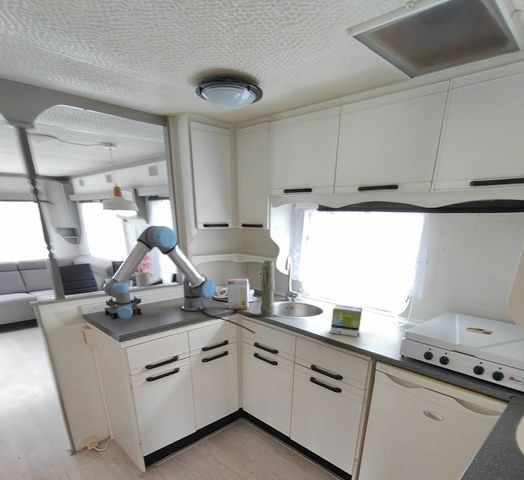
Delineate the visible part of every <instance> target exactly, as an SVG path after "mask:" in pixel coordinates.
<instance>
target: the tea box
mask: <svg viewBox="0 0 524 480" xmlns="http://www.w3.org/2000/svg"><path fill="white" fill-rule="evenodd" d="M332 309H333V310H332V315H331V325H330V333H331V334H338V335H344V336H351V337H358V334H359V332H360V327H361V319H362V313H363V307H361V306H360V307H359V306H352V305H343V304H335V306H334V307H333V308H332Z"/></svg>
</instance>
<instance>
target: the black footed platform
mask: <svg viewBox="0 0 524 480" xmlns="http://www.w3.org/2000/svg"><path fill="white" fill-rule="evenodd" d="M103 309H104V313H105V315H110V314H111V316H112V319H113V320H116V319H117V315H118V312H117V311H118V310H117V306H115V307H114V308H112V307H110V306H107V307H104V308H103ZM141 310H142V309H141V307H138V305H137V306H134V305H132V312H133V313H134V312H137V315H142V311H141Z"/></svg>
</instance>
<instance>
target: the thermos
mask: <svg viewBox="0 0 524 480" xmlns="http://www.w3.org/2000/svg"><path fill="white" fill-rule="evenodd" d="M261 269H262V270H261V271H262V272H261V274H262V276H261V280H260V290H261V305H260V316H261V317H265V318H270V317H274V316H275V304H274V300H275V297H274V296H275V288H276V287H275V285H276V280H275V275H274V274H275V264H274V261H272V260H264V261H263V263H262V267H261Z"/></svg>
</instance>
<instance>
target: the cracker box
mask: <svg viewBox="0 0 524 480" xmlns="http://www.w3.org/2000/svg"><path fill="white" fill-rule="evenodd" d="M249 283H250V282H249V278H228V279H227V305H228V307H227V309H228V310H243V311H245V310H246V311H247V310H249V308H250V298H249V297H250V296H249V295H250V293H249V291H250V290H249Z"/></svg>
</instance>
